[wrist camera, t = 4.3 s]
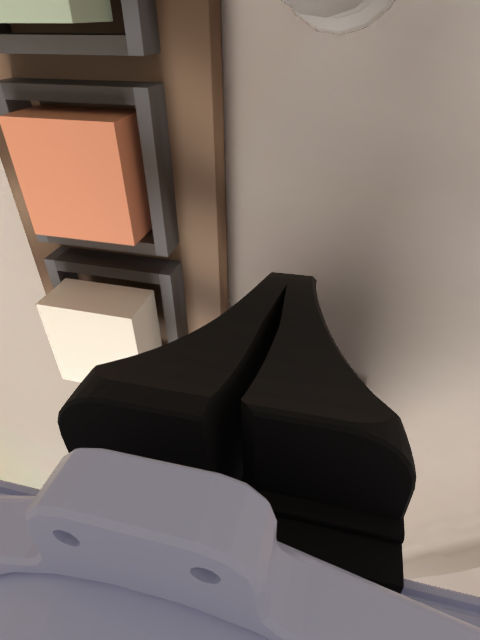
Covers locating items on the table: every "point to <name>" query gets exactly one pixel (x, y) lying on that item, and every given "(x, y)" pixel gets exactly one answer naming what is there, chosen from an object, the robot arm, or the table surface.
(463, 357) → the table surface
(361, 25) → the rook chess piece
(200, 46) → the button board
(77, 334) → the cream button
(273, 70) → the table surface
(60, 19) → the sage button
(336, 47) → the table surface
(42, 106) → the terracotta button
